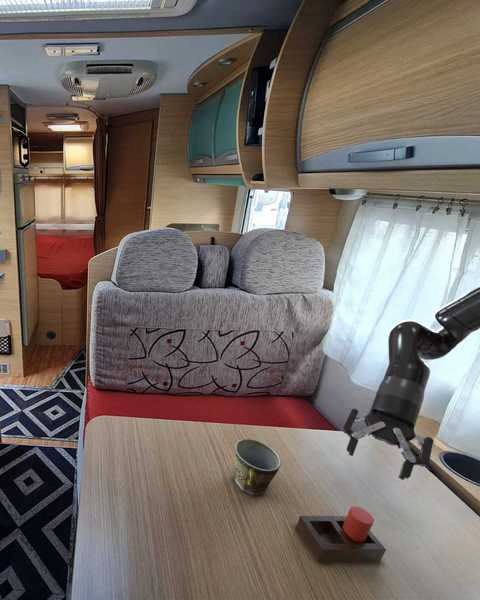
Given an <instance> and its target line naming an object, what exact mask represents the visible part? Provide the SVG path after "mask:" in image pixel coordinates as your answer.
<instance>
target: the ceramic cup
mask: <svg viewBox="0 0 480 600" xmlns="http://www.w3.org/2000/svg"><path fill="white" fill-rule="evenodd" d="M234 463H235V464H234V465H235V467H234V469H235V470H234V474H235V477H234V481H235V482H236V484H237V485H238V487H239V488H240V490H241V491H243V492H245V493H248V495H251V496H259V495H263V494H264V493H265V492H266V490H267V489H268V486H269V485H270V484H271V482H272V480H274V478H275V476H276V475H277V473H278V472H279V470H280V468H281V466H282V459H281V457H280V455H279V453H277V451H276V450H275V449H273V448H272V447H271V446H270V445H269V444H267V443H264V442H262V441H260V440H258V439H254V438H253V439H252V438H242V439H239V440H238V441H237V442H236V443H235V446H234Z"/></svg>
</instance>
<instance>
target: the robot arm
mask: <svg viewBox="0 0 480 600" xmlns="http://www.w3.org/2000/svg"><path fill="white" fill-rule="evenodd" d="M433 317H434V319H435V321H436V322H437V324H438V325H439V326H440V327H441V328H440V329H438V330H436V331H435V330H434V329H431V328H430V327H428V326H426V325H425V324H422V323H421V322H419V321H417V320H411V319H407V320H406V319H405V320H402V321H400V322H398V323H397V324H395V325H394V326H393V327H392V328H391V330H390V333H389V334H388V344H387V345H388V347H387V348H388V366H387V368H386V370H385V373H384V376H383V379H382V381H381V382H380V384H379V385H378V387H377V388H378V389H377V390H376V394H375V396H374V399H373V403H372V405H371V408H370V411H369V412H368V413H367V414H364V413H362V412H361V411H359V410H358V409H357V408H352V409H351V411H350V413H349V414H348V417H347V419H346V421H345V423H344V425H343V428H342V432H343V433H344V434H346V435H347V436H348V438H349V441H348V444H347V446H346V452H348V456H350V457H353V456H354V454H355V451H356V448H357V445H358V443H359V440H360V439H363V438H366V437H369V436H372V437H373V438H374V439H376V440H378V441H381V442H384V443H385V444H387V445H388V446H389V445H390V446H391V447H392V446H396V447H397V449H398V451H399V452H400V453H401V455H402V457H403V459H404V461H403V462H402V466H401V468H400V471H399V474H398V478H397V479H400V480H402V481H404V480H405V479H406V480H408V479H409V478H411V476H412V473H413V469H414V466H420V467H422V468H424V467H427V466H428V465H429V464H430V460H431V454H432V452H433V451H432V450H433V446H434V439H433V438H432V437H429V436H427V437H425V436H423V435H420V434H416V431H415V427H416V424H417V421H418V418H419V415H420V411H421V409H422V406H423V403H424V400H425V391H426V387H427V385H428V382H429V378H430V376H431V369H430V367H429V366H428V364H427V363H425V362H424V361H434V360H439V359H442V358H444V357H446V356H447V355H449V354H450V353H451V352H452V351H453V350H454V349H455V348H456V347H457V346H458V345H460V344H461V343H462V342H463V341H464V340H465V339H466V338H467V337H469V336H470V335H471V334H473V333H475V332H477V331H479V330H480V286H479V287H476V288H474V289H472V290H470V291H469V292H467V293H465V294H463V295H461V296H459V297H458V298H456V299H454V300H453V301H451V302H449V303H447V304H446V305H443V306H442V307H441V308H439V309H438V310H436V311H435V312H434V315H433ZM423 360H424V361H423ZM361 420H364V422H365V425H366V427H364V428H361V429H360V430H357V431H354V430H352V427H353V425H354V423H355V422H360V421H361ZM412 440H415V441H416V444H417V446H419V447H420V450H419V454H418V455H419V456H418V457H415V456H414V454H413V451H412V450H411V447H410V445H409V443H408V442H410V441H412Z"/></svg>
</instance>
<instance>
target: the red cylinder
mask: <svg viewBox="0 0 480 600" xmlns="http://www.w3.org/2000/svg"><path fill="white" fill-rule="evenodd" d="M346 516H347V517H346V519H345V522H344V524H343V526H342V530H343V531H344V533H345V534H346V535H347V537H348V538H349V539H350V541H351V542H352V543H353V544H364V542H365V540H366V538H367V536H368V533H369V531H371V529H372V527H373V525H374V521H375V519H374V517H373V516H372V515H371V513H369V511H367V510H366V509H364V508H362V507H359V506H356V505H352V506H350V508H349V510H348V512H347V515H346Z"/></svg>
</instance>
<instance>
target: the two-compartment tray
mask: <svg viewBox="0 0 480 600" xmlns="http://www.w3.org/2000/svg"><path fill="white" fill-rule="evenodd" d="M346 517H347V515H299V517H298V521H297V524H296V526H295V529H296V530H297V532H298V534H299V535H300V537H301V538H302V540H303V542H304V543H305V545H306V547H307V548H308V550H309V551H310V552H311V554H312V556H313V557H314V559H315V560H316V562H317V563H381V561H382V559H383V557H384V555H385V553H386V551H387V549H386V548H385V545H383V544H382V542H380V540H379V539H378V538H377V536H375V534H374V533H373V532H372V531H371V530H370V531H369V533H368V536H367V538H366V540H365V542H364V544H353V543H352V542H351V541H350V539H349V538H348V537H347V535H346V534H345V533H344V531H343V530H342V526H343V524H344V522H345V519H346ZM319 534H325V535H326V536H327V538H328V539H329V540H330V542H331V543H325V542H324V540H323V539H322V538H321V537H320V535H319Z"/></svg>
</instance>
